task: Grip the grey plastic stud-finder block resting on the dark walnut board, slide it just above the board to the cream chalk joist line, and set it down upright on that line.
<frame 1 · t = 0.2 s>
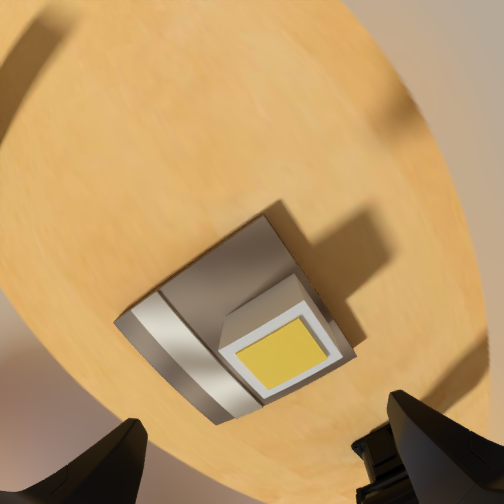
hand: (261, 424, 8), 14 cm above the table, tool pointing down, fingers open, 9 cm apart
subfloor board: (235, 337, 23), on the table
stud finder: (277, 320, 21), point 1 cm above the table, touching subfloor board
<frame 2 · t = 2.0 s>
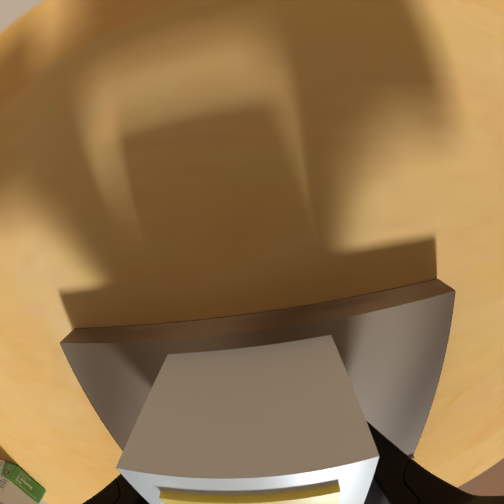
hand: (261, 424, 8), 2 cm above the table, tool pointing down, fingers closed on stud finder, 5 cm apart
ink box: (19, 472, 17), on the table
subfloor board: (273, 449, 11), on the table
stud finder: (261, 414, 9), point 1 cm above the table, touching gripper, subfloor board
when the fingers open (2 cm above the table, at t = 6.0 s): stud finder stays where it is, resting on subfloor board.
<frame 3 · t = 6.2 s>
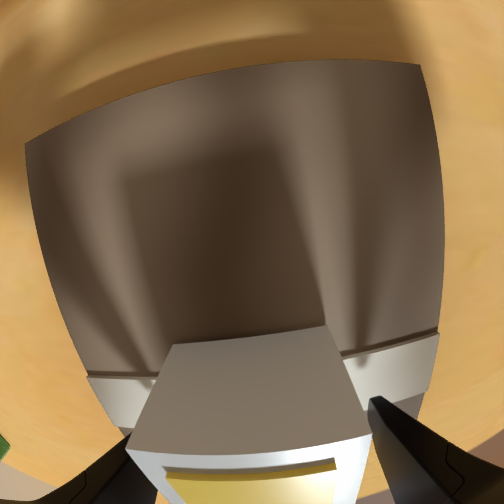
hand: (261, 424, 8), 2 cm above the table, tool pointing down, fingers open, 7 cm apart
subfloor board: (245, 304, 10), on the table
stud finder: (262, 403, 9), point 1 cm above the table, touching subfloor board
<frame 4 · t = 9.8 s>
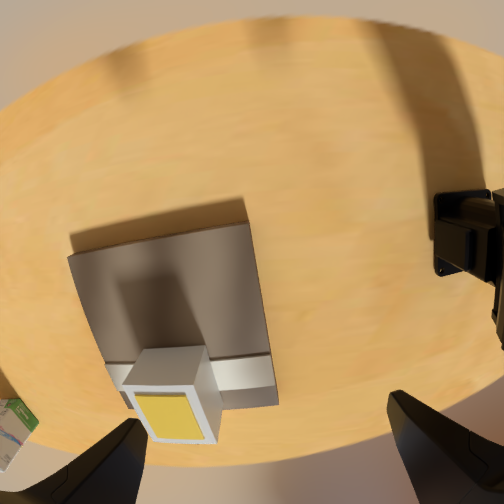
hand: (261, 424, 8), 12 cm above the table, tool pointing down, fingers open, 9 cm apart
ink box: (19, 409, 27), on the table
subfloor board: (175, 332, 21), on the table
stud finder: (184, 378, 21), point 1 cm above the table, touching subfloor board
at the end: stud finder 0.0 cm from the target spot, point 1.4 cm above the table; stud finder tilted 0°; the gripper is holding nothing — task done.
